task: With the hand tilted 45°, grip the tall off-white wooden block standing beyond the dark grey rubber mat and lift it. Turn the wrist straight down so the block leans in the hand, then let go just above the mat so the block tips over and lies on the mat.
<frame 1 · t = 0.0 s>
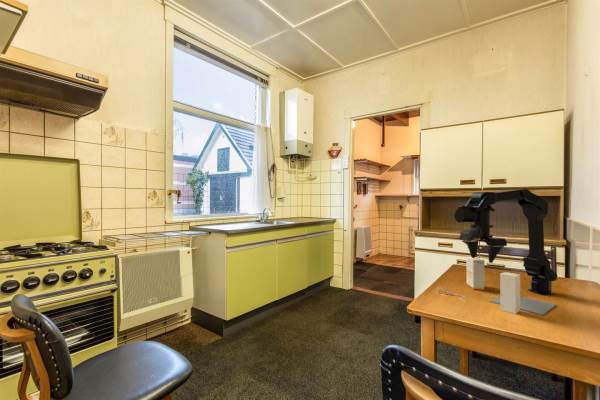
hand: (481, 260, 116), 15 cm above the table, tool pointing down, fingers open, 9 cm apart
block: (510, 310, 101), on the table
supplement box: (475, 287, 128), on the table
mat: (522, 303, 108), on the table
key chain: (452, 297, 117), on the table
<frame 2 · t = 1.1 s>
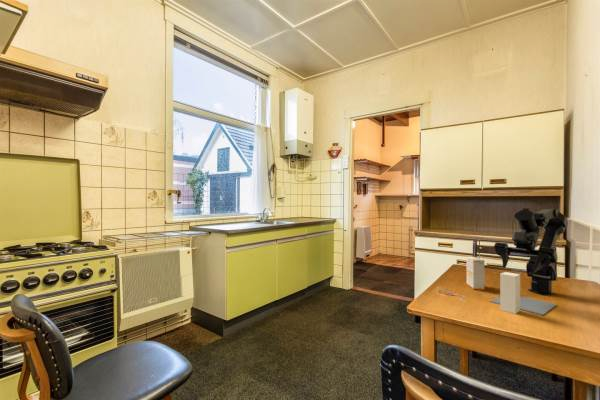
hand: (518, 269, 106), 13 cm above the table, tool tilted 45°, fingers open, 9 cm apart
nothing on the table moved.
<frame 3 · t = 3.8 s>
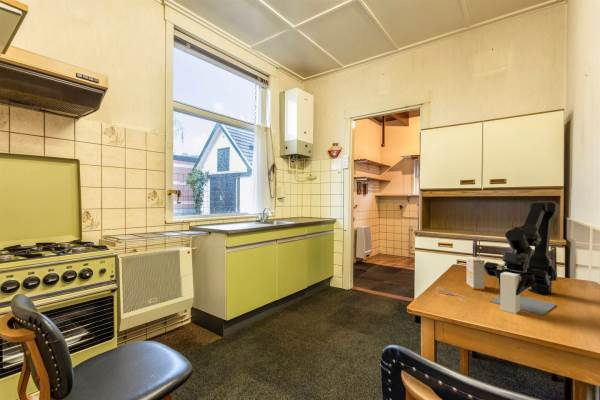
hand: (508, 292, 101), 7 cm above the table, tool tilted 45°, fingers closed on block, 4 cm apart
block: (510, 310, 101), on the table, touching gripper
everything else where it was.
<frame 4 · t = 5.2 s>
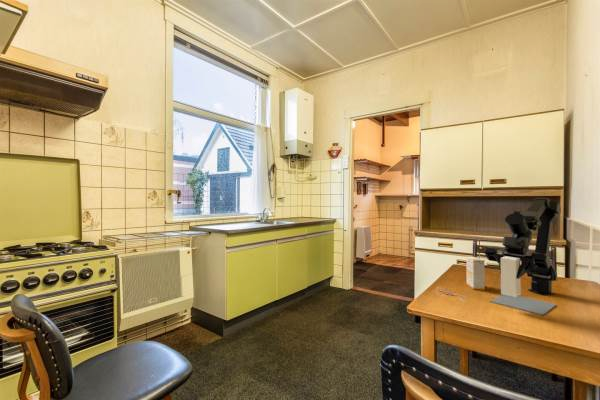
hand: (509, 276, 101), 12 cm above the table, tool tilted 45°, fingers closed on block, 4 cm apart
block: (510, 294, 102), point 6 cm above the table, touching gripper
everything else where it was.
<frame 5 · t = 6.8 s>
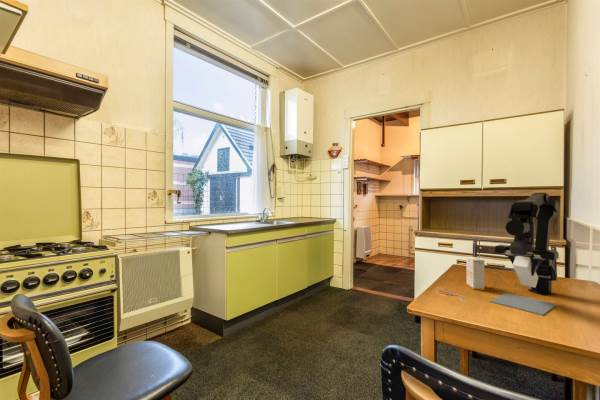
hand: (524, 274, 109), 11 cm above the table, tool pointing down, fingers closed on block, 4 cm apart
block: (529, 281, 112), point 7 cm above the table, tilted 45°, touching gripper
everything else where it was.
when the fingers open (7 cm above the table, at t = 7.9 s): block moves 2 cm and tips over, resting on mat.
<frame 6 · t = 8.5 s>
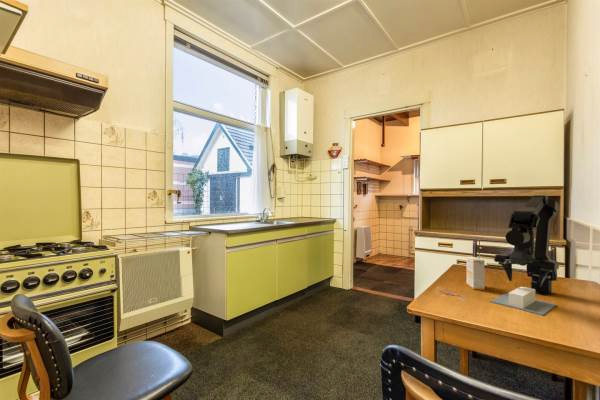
hand: (524, 283, 109), 7 cm above the table, tool pointing down, fingers open, 9 cm apart
block: (528, 293, 111), point 3 cm above the table, tilted 90°, touching mat
everything else where it was.
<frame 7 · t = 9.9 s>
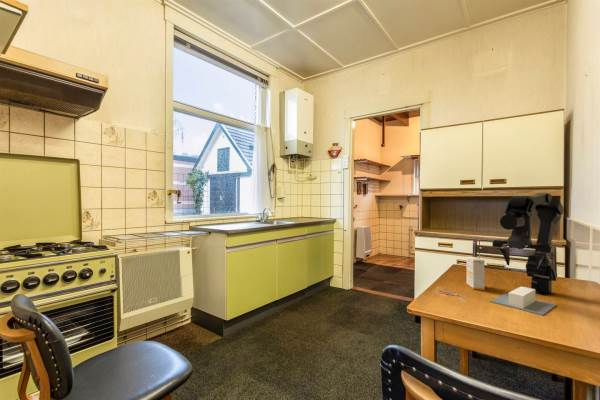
hand: (522, 267, 112), 13 cm above the table, tool pointing down, fingers open, 9 cm apart
nothing on the table moved.
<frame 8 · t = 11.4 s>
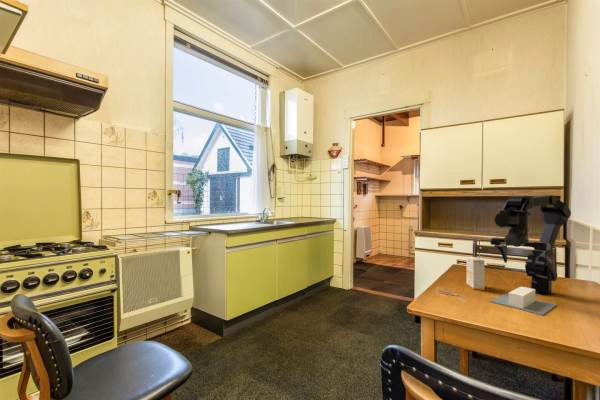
hand: (518, 264, 115), 13 cm above the table, tool pointing down, fingers open, 9 cm apart
nothing on the table moved.
at the end: block tilted 90°; block touching mat; block 6.0 cm from the mat (horizontally) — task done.
